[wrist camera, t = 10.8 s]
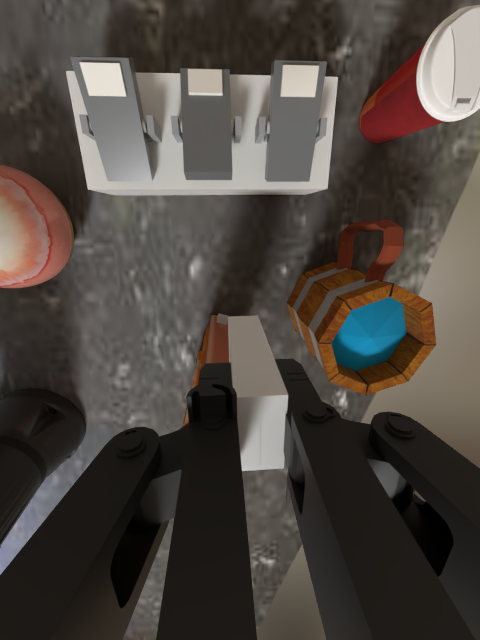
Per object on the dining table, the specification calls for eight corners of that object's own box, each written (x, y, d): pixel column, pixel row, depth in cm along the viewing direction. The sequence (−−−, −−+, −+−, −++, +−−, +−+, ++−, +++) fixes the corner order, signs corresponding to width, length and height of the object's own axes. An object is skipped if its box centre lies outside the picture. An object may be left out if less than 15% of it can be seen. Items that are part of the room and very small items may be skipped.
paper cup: (402, 152, 37) (502, 116, 24) (347, 152, 36) (418, 116, 23) (415, 80, 34) (535, -5, 21) (355, 79, 34) (440, -9, 21)
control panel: (189, 384, 47) (209, 305, 43) (227, 392, 49) (251, 316, 44) (165, 506, 27) (198, 383, 23) (232, 515, 29) (277, 398, 24)
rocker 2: (184, 180, 26) (181, 170, 24) (180, 82, 26) (177, 65, 24) (233, 180, 26) (234, 170, 24) (231, 83, 26) (231, 66, 24)
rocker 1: (110, 176, 28) (105, 182, 27) (74, 56, 22) (65, 56, 21) (156, 176, 29) (153, 182, 27) (135, 57, 22) (129, 58, 21)
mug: (359, 342, 47) (419, 395, 33) (282, 341, 46) (309, 395, 32) (386, 220, 40) (476, 222, 26) (296, 216, 39) (339, 215, 25)
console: (115, 195, 36) (72, 186, 26) (100, 101, 33) (44, 46, 22) (306, 194, 38) (339, 185, 27) (312, 104, 34) (353, 54, 24)
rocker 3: (262, 178, 29) (265, 182, 27) (269, 63, 24) (272, 59, 22) (307, 178, 29) (312, 182, 28) (323, 64, 24) (330, 60, 22)
